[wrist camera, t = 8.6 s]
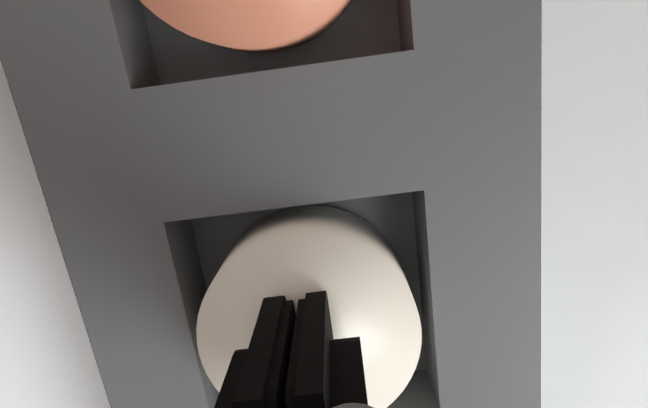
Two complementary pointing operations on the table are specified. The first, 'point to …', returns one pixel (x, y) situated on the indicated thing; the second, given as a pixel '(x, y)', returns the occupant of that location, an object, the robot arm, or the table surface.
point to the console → (291, 175)
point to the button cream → (313, 276)
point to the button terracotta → (250, 21)
